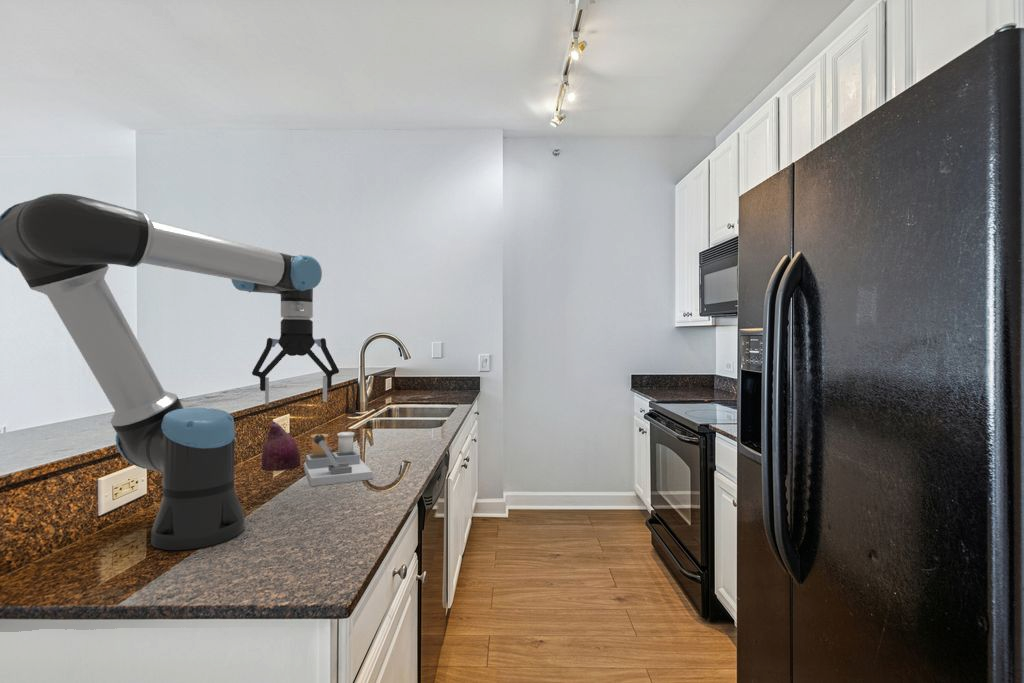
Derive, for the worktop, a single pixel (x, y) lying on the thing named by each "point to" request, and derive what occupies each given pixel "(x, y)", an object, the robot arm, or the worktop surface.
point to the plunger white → (345, 441)
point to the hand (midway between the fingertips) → (296, 402)
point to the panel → (336, 469)
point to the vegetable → (279, 450)
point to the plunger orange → (318, 445)
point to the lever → (326, 449)
